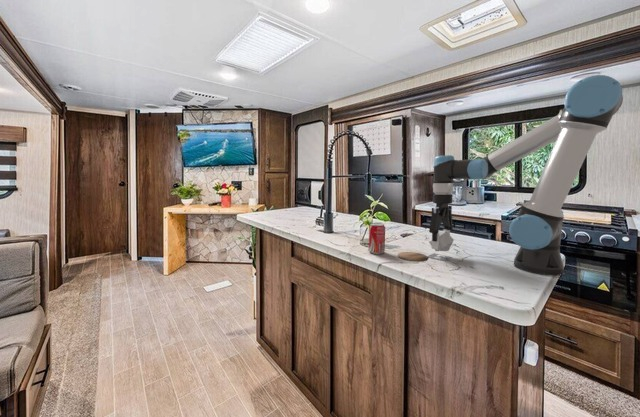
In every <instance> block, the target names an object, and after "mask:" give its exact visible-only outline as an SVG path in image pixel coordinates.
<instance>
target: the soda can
mask: <svg viewBox="0 0 640 417" xmlns="http://www.w3.org/2000/svg"><path fill="white" fill-rule="evenodd" d="M385 250H386V226H385V223H382V222H371V223H370V225H369V226H368V252H369V253H370V254H373V255H382V254H384V253H385Z"/></svg>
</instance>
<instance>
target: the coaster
mask: <svg viewBox="0 0 640 417" xmlns="http://www.w3.org/2000/svg"><path fill="white" fill-rule="evenodd" d="M427 256H428V255H425V254H423V253H420V252H413V251H404V252H403V251H402V252H401V251H400V252H398V253H397V258H399V259H401V260H404V261H410V262H423V261H427V259H428V258H427Z"/></svg>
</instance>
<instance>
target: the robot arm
mask: <svg viewBox="0 0 640 417" xmlns="http://www.w3.org/2000/svg"><path fill="white" fill-rule="evenodd" d="M623 100H624V96H623V87H622V85H621V83H620V82H619V81H618V80H617V79H615V78H613V77H612V76H610V75H605V74H603V75H602V74H597V75H596V74H594V75H591V76H587V77H584V78H582V79H579V81H577V82H575V83H574V84H573V85H572V86H571V87H570V88H569V89H568V91H567V92H566V94H565V97H564V102H563V104H564V107H563V108H562V109H559V113H558V114H557V115H555V116H553V117H552V118H550V119H548V120H547V121H544V122H543V123H541V124H539V125H538V126H536V127H534V128H532V129H531V130H529V131H527V132H525V133H524V134H522V135H521V136H519V137H517V138H514V140H511V141H510V142H508V143H507V144H505V145H503V146H501V147H500V148H498V149H496V150H495V151H493V152H492V151H491V153H489V154H488V155H486V156H484V157H481V158H473V159H459V160H458V159H455V156H454V155H451V154H450V155H447V154H446V155H436V156H435V157H434V162H433V184H432V189H433V190H432V192H433V194H432V203H433V204H435V207H431V216H430V224H429V230H428V231H429V233H430V234H431V236H432V246H431V250H432V249H433V250H435V249H437V250H438V249H439V233H438V232H439V231H440V229H441V228H440V227H441V224H443V229H442V231H447V233H448V234H449V235H450V236H451V231H452V230H453V229H454V228H453V226H454V225H453V213H452V209H453V206H452V205H450V204H452V203H453V192H454V180H474V181H475V180H485V179H488V178H490V177H492V175H494V174H495V173H498V172H499V171H501V170H502V169H504V168H506V167H509V166H511V165H512V164H514V163H516V162H518V161H520V160H522V159H524V158H526V157H528V156H529V155H531V154H534V153H535V152H537V151H539V150H541V149H543V148H545V147H547V146H548V145H550V144H552V143H553V144H554V145H553V148H552V149H551V152H550V154H549V156H548V158H547V161H546V162H545V165H544V167H543V170H542V172H541V174H540V176H539V179H538V181H537V183H536V185H535V188H534V189H533V192H532V195H531V197H530V199H529V200H528V201H526V202H523V203H522V205H521V206H520V209H519V211H518V214H517V216H516V217H515V218H514V219H513V220H512V221H511V223H510V225H509V229H508V230H509V232H508V233H509V236H510V238H511V240H512V241H513V243H515V244H516V245H517V246H519V248H518V251H517V253H516V255H515V257H514V259H513V266H514V267H515V268H517V269H519V270H520V271H524V272H529V273H532V274H533V273H534V274H540V275H545V276H548V275H549V276H550V275H551V276H559V275H562V274H564V272H565V270H564V269H565V265H564V263H563V262H564V261H563V259H562V255H561V251H560V250H561V249H560V248H561V239H562V233H563V232H562V231H563V222H564V221H563V220H564V219H565V215H564V211H563V210H562V207H563V205H564V203H565V200H566V199H567V196H568V194H569V192H570V191H571V189H572V186H573V184H574V183H575V180H576V177H577V175H578V174H579V171H580V169H581V168H582V166H583V163H584V162H585V159H586V157H587V155H588V153H589V150H590V149H591V146H592V144H593V143H594V141H595V139H596V136H597V135H598V134H599V133H602V132H604V131H605V130H607V128H608V126H609V124H610V122H611V120H612V118H613V116H614V115H615V114H617V112H618V111H619V110H620V108H621V106H622V104H623Z"/></svg>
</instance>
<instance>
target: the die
mask: <svg viewBox="0 0 640 417" xmlns="http://www.w3.org/2000/svg"><path fill="white" fill-rule="evenodd" d="M438 233H439V249H438V250H437V249H434V251H435V252H449V251H450V249H451V246H452V245H453V243H454V238H453V236H451V234H450V235H449V234H448V233H447V231H443V230H439V232H438ZM428 243H429V245H430V246H431V247H432V235H431V236H430V238H429V239H428Z"/></svg>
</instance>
